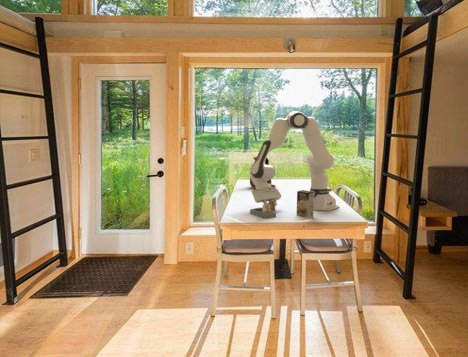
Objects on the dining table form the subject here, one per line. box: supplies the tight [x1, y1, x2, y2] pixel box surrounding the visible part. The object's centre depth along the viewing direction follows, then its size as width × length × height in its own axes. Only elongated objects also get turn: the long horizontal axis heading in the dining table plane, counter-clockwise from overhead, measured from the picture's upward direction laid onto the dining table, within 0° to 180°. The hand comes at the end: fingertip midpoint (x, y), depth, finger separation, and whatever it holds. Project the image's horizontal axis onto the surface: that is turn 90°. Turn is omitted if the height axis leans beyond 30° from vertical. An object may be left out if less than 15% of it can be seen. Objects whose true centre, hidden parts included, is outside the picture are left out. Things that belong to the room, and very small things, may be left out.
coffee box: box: [296, 189, 314, 218], centre depth 228 cm, size 9×6×16 cm
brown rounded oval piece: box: [267, 200, 276, 212], centre depth 240 cm, size 5×5×8 cm
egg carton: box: [249, 207, 277, 219], centre depth 230 cm, size 8×16×4 cm, turn 32°
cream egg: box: [262, 202, 270, 214], centre depth 226 cm, size 5×5×8 cm
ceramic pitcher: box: [249, 155, 272, 189], centre depth 335 cm, size 20×20×30 cm
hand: (272, 205), depth 239 cm, fingers closed on brown rounded oval piece, 5 cm apart
